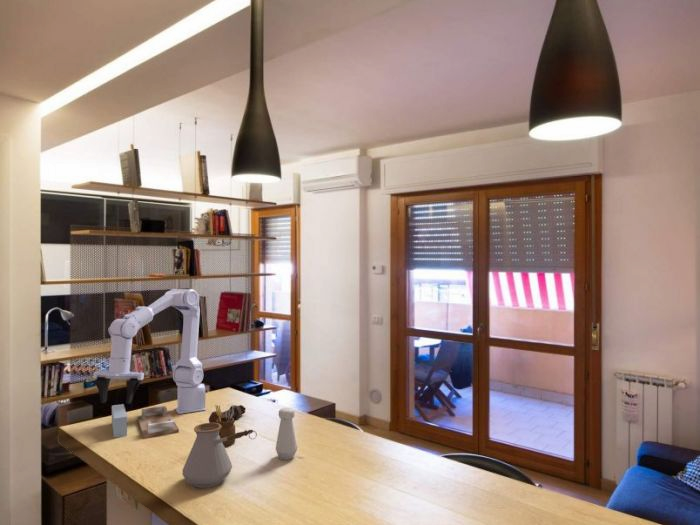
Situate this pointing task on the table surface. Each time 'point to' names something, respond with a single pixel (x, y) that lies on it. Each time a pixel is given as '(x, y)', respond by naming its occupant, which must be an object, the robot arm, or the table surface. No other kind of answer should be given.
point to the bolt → (236, 415)
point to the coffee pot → (209, 456)
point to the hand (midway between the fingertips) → (116, 402)
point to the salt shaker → (286, 435)
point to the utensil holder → (226, 426)
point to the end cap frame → (156, 422)
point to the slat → (119, 421)
